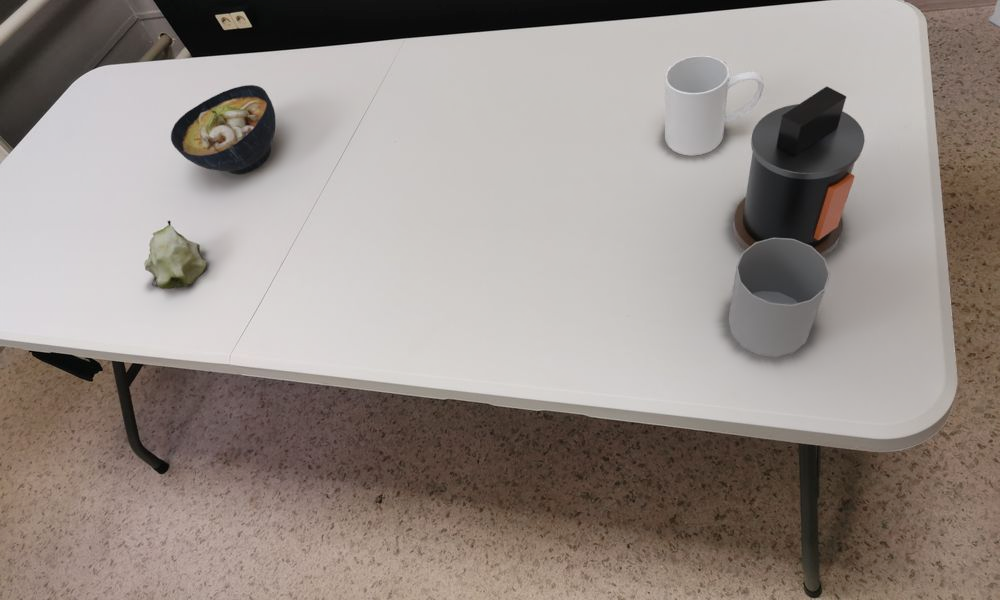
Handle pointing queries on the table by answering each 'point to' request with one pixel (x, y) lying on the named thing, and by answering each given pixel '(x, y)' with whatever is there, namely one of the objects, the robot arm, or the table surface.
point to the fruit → (173, 259)
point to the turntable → (748, 241)
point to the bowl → (228, 131)
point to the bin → (802, 169)
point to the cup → (776, 296)
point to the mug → (700, 103)
